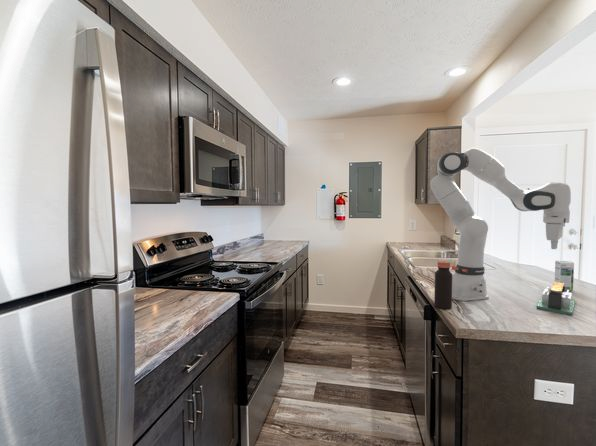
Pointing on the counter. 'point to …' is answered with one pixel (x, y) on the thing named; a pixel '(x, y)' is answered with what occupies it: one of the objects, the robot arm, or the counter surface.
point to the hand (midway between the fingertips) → (554, 248)
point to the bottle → (443, 286)
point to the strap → (557, 288)
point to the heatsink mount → (557, 302)
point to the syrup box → (564, 273)
